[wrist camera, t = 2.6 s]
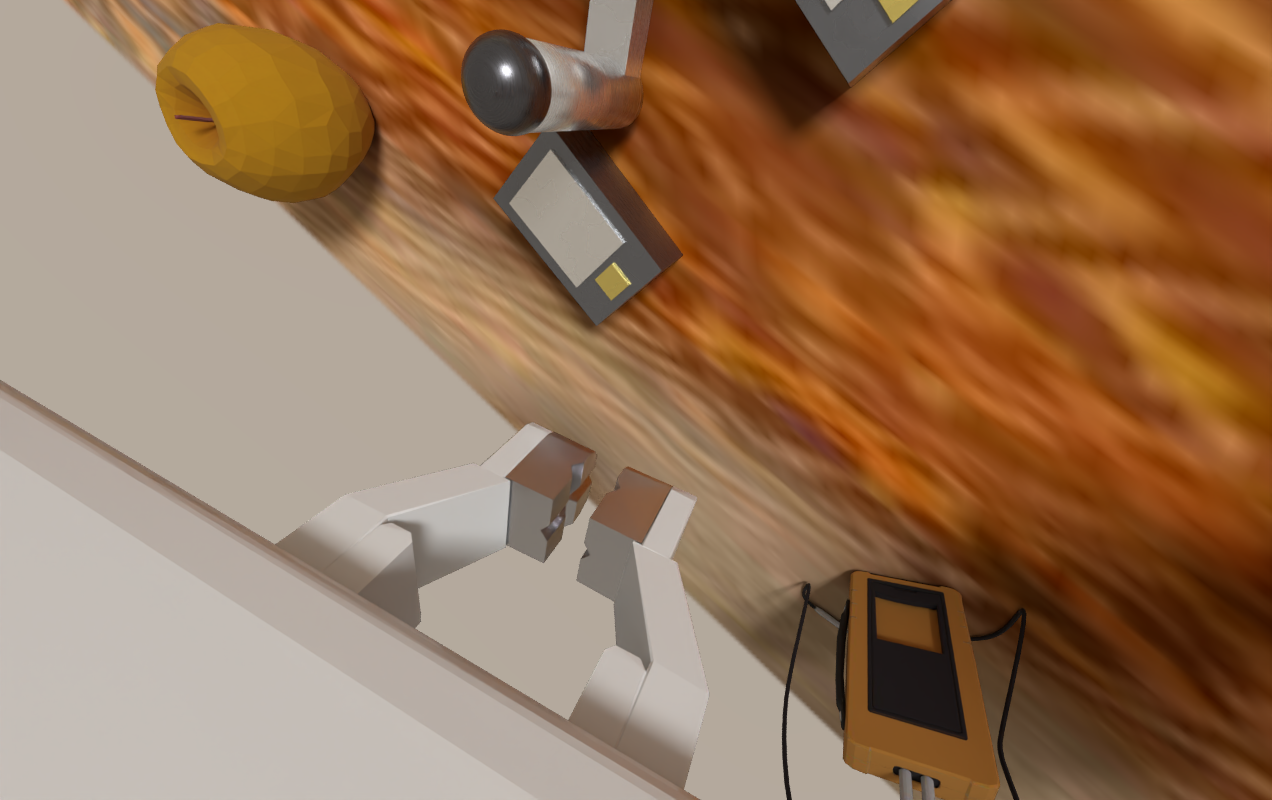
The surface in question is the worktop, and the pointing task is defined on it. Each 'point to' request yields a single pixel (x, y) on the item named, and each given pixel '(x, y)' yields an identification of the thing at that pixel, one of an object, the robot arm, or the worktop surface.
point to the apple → (263, 112)
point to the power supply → (586, 221)
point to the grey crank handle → (561, 75)
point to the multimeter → (912, 690)
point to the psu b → (865, 29)
